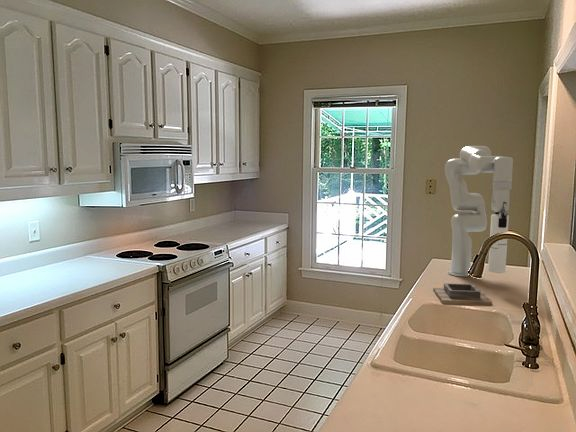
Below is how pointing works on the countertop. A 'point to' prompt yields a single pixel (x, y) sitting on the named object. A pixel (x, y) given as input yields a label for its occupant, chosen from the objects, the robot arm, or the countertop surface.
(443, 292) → the walnut caddy
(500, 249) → the cylindrical container
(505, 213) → the robot arm
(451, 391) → the countertop surface
